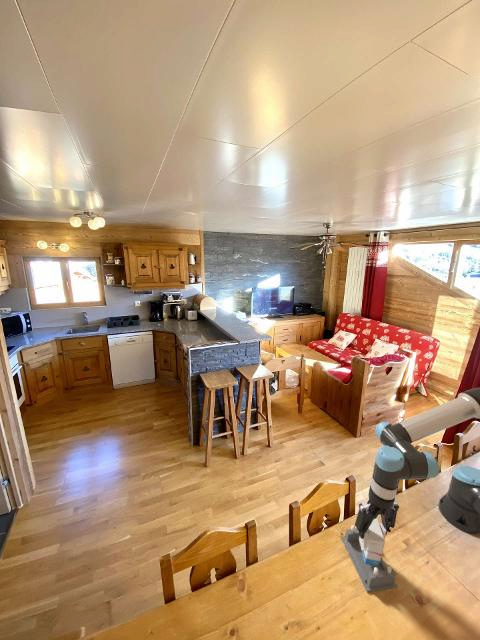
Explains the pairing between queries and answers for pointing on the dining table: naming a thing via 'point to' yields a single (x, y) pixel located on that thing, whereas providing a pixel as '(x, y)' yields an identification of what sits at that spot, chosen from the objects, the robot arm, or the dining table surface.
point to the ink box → (373, 544)
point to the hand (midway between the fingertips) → (370, 541)
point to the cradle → (369, 574)
